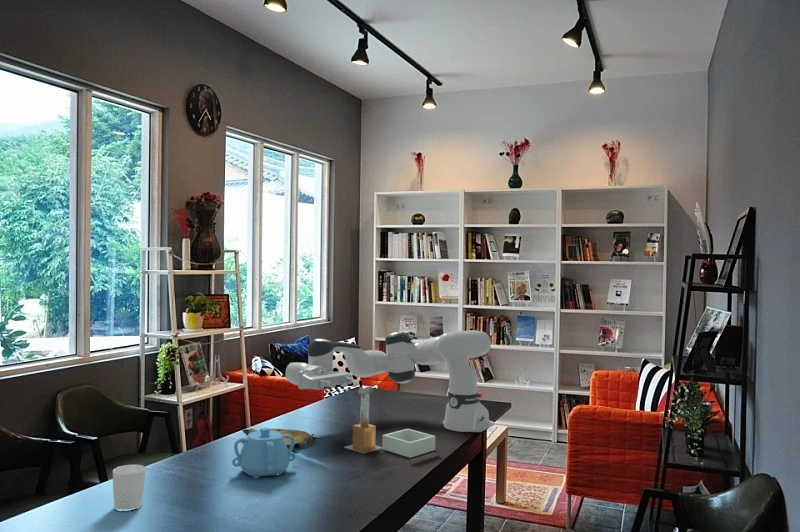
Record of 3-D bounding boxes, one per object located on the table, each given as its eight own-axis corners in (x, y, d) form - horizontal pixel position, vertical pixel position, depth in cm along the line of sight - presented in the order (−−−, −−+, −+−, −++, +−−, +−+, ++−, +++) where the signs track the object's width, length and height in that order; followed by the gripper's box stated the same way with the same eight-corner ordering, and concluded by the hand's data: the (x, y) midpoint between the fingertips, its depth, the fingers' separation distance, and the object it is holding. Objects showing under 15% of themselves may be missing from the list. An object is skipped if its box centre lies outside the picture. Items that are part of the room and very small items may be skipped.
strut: (363, 444, 226) (365, 385, 226) (375, 447, 222) (376, 387, 222) (352, 447, 222) (354, 387, 222) (363, 450, 218) (365, 389, 218)
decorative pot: (225, 474, 194) (226, 430, 194) (261, 460, 208) (261, 419, 208) (267, 485, 186) (268, 438, 186) (301, 469, 201) (302, 426, 200)
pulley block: (259, 416, 240) (322, 429, 225) (260, 431, 241) (324, 445, 226) (231, 430, 228) (297, 445, 213) (233, 446, 229) (298, 461, 214)
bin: (407, 445, 230) (407, 428, 230) (434, 453, 222) (435, 436, 222) (382, 452, 221) (382, 435, 221) (410, 461, 212) (410, 443, 212)
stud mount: (364, 445, 229) (364, 424, 229) (384, 451, 222) (384, 429, 222) (343, 450, 222) (343, 429, 222) (363, 457, 215) (363, 434, 215)
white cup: (118, 501, 171) (118, 464, 171) (148, 501, 171) (149, 464, 171) (107, 513, 163) (108, 474, 163) (138, 513, 164) (139, 474, 164)
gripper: (337, 382, 247) (361, 388, 238) (294, 389, 232) (319, 395, 223) (337, 366, 247) (362, 371, 238) (295, 372, 232) (319, 377, 223)
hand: (341, 383), depth 230 cm, fingers open, 8 cm apart
